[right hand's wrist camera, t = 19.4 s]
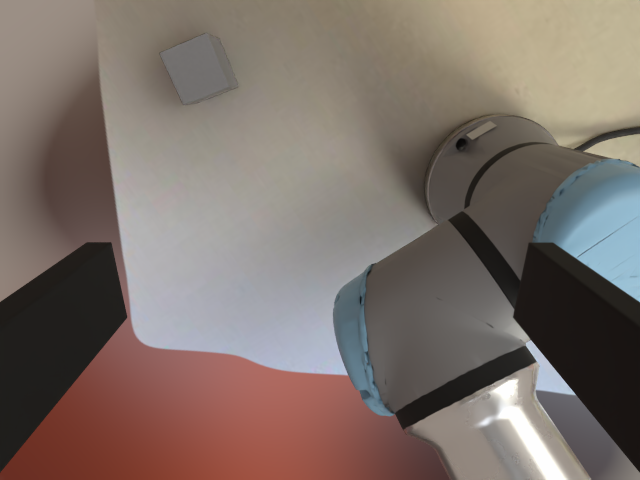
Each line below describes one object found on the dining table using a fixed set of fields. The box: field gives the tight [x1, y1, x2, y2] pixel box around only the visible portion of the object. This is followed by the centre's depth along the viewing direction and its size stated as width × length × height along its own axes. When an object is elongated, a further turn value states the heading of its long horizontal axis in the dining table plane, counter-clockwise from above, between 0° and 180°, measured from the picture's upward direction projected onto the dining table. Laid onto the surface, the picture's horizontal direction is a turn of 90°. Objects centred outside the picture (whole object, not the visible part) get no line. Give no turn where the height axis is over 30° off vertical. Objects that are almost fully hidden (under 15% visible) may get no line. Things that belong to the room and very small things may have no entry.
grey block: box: [159, 33, 239, 105], centre depth 40 cm, size 5×5×5 cm
